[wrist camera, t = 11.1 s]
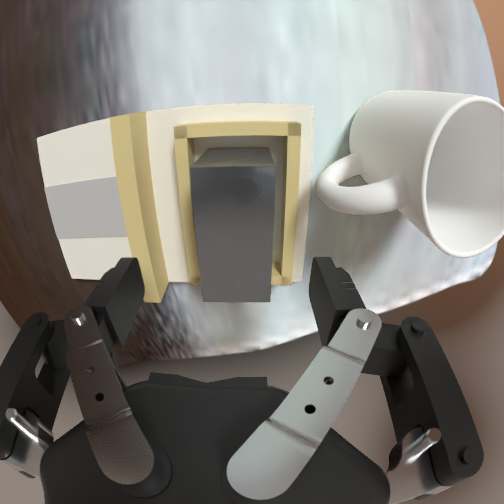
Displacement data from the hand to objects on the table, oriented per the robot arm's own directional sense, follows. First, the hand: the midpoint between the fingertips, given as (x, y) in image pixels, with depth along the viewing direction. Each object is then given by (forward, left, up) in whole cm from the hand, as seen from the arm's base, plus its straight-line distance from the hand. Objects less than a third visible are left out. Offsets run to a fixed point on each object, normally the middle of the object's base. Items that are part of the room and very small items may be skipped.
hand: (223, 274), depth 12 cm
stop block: (0, 0, -9) cm, 9 cm away
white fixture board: (-6, 0, -10) cm, 11 cm away
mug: (+11, +5, -10) cm, 15 cm away
